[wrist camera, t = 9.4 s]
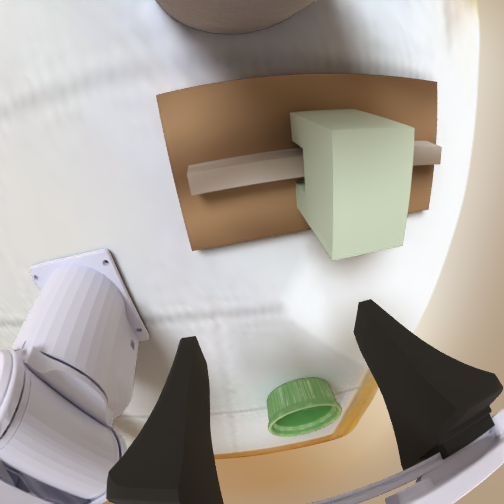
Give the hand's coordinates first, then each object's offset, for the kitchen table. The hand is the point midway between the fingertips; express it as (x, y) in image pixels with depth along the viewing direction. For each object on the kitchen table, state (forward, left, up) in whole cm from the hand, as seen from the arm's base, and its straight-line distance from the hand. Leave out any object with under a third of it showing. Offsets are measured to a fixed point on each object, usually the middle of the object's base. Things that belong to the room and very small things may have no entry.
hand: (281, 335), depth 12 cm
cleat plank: (+5, -5, -9) cm, 12 cm away
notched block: (+5, -5, -8) cm, 11 cm away
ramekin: (-24, -3, -10) cm, 26 cm away
